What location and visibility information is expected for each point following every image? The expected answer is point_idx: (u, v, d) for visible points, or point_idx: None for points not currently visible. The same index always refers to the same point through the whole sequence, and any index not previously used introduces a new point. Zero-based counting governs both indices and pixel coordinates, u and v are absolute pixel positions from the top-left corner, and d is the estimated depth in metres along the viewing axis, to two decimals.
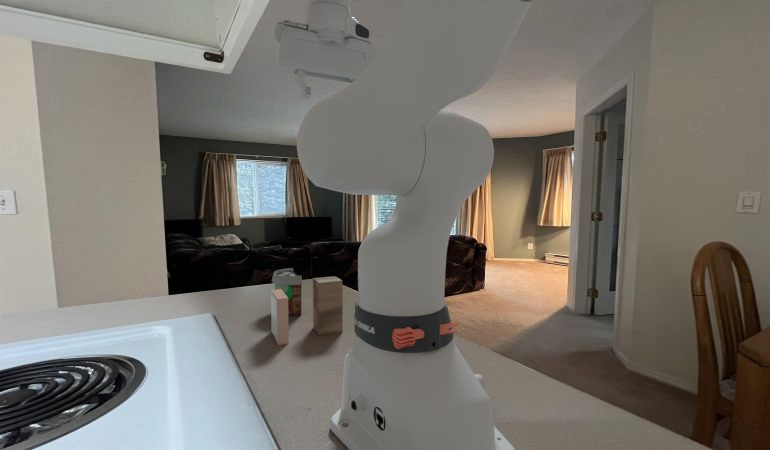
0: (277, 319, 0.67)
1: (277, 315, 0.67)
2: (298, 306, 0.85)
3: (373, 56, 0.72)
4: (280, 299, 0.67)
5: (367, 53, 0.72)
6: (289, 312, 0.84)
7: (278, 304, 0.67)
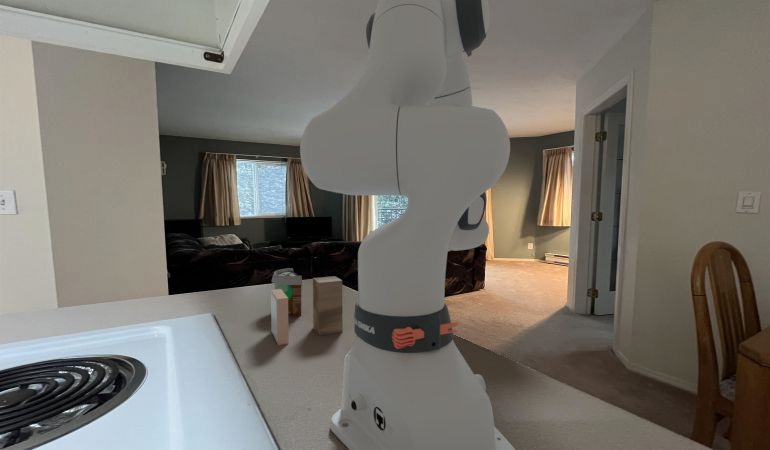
0: (277, 319, 0.67)
1: (277, 315, 0.67)
2: (298, 306, 0.85)
3: None
4: (280, 299, 0.67)
5: None
6: (289, 312, 0.84)
7: (278, 304, 0.67)
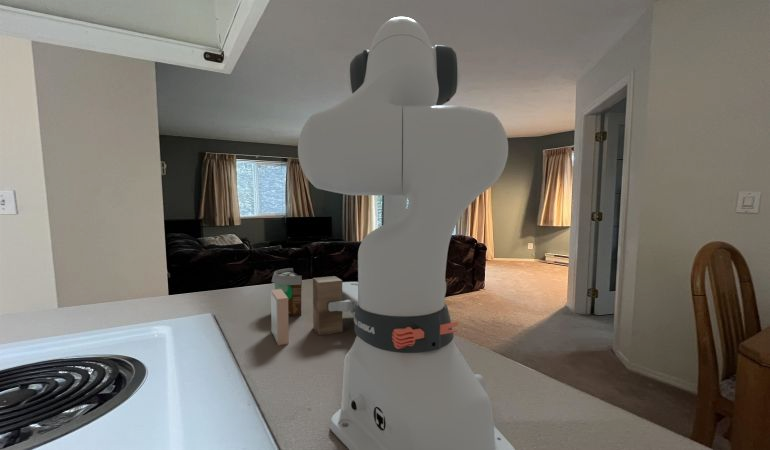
0: (277, 319, 0.67)
1: (277, 315, 0.67)
2: (298, 306, 0.85)
3: None
4: (280, 299, 0.67)
5: None
6: (289, 312, 0.84)
7: (278, 304, 0.67)
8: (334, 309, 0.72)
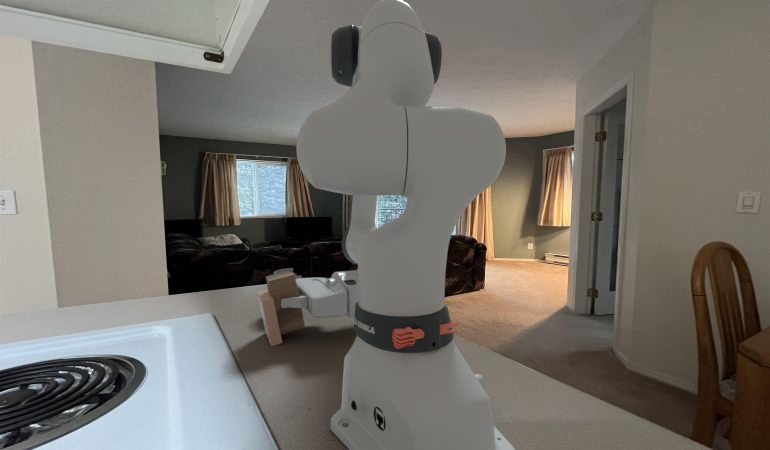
0: (266, 321, 0.66)
1: (265, 317, 0.66)
2: None
3: (336, 292, 0.67)
4: (265, 301, 0.66)
5: None
6: None
7: (264, 306, 0.66)
8: (287, 306, 0.67)
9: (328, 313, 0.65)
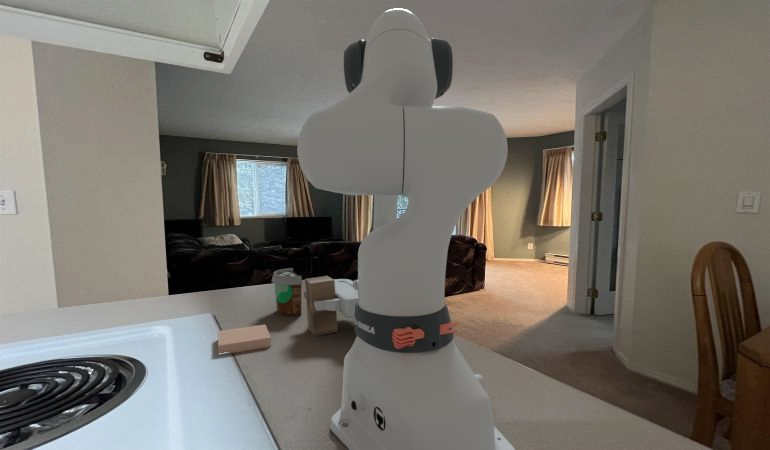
0: None
1: None
2: (298, 306, 0.85)
3: None
4: (219, 352, 0.63)
5: None
6: (289, 312, 0.84)
7: None
8: (322, 308, 0.69)
9: None
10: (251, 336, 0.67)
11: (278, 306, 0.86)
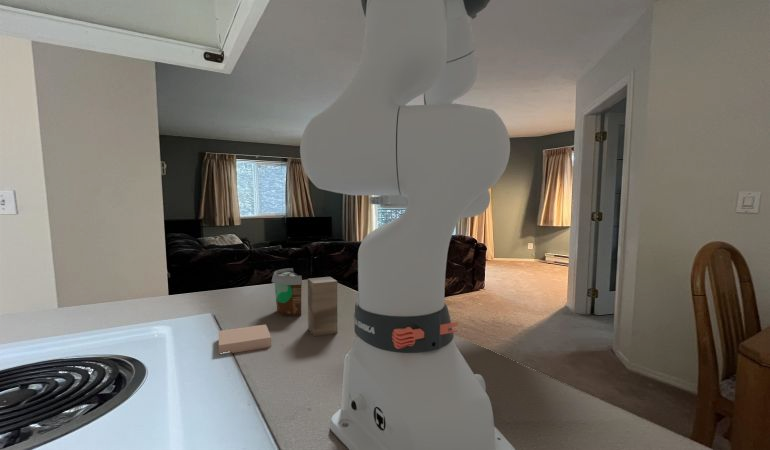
0: None
1: None
2: (298, 306, 0.85)
3: None
4: (219, 352, 0.63)
5: None
6: (289, 312, 0.84)
7: None
8: (394, 202, 0.75)
9: None
10: (252, 336, 0.67)
11: (278, 306, 0.86)
